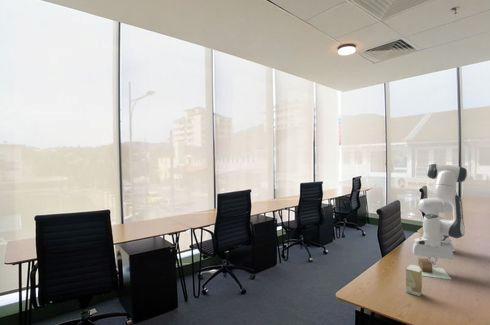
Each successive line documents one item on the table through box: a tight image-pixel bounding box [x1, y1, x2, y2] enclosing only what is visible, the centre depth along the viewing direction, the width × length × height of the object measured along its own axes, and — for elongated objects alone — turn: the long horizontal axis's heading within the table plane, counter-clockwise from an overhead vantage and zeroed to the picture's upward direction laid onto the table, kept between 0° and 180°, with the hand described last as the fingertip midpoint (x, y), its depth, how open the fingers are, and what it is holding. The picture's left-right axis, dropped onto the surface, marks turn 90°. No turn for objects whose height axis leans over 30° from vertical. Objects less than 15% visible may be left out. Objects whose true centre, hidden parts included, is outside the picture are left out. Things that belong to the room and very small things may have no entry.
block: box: [417, 257, 433, 273], centre depth 160 cm, size 5×5×11 cm
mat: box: [408, 264, 452, 280], centre depth 157 cm, size 16×18×1 cm
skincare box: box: [405, 265, 423, 297], centre depth 132 cm, size 6×4×12 cm
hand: (432, 264), depth 159 cm, fingers closed
